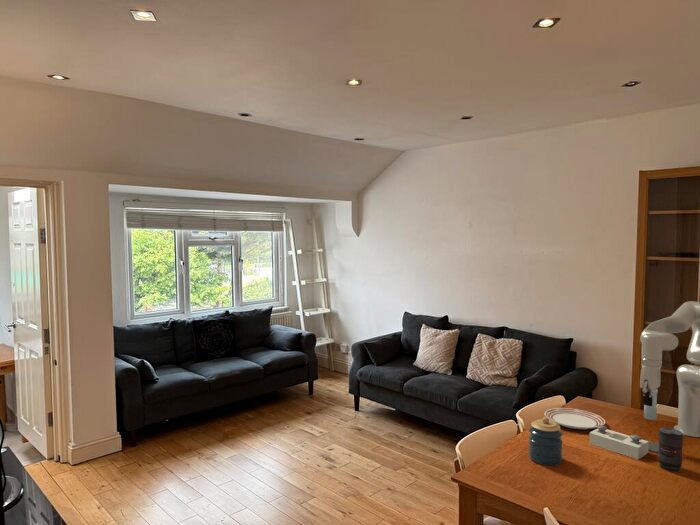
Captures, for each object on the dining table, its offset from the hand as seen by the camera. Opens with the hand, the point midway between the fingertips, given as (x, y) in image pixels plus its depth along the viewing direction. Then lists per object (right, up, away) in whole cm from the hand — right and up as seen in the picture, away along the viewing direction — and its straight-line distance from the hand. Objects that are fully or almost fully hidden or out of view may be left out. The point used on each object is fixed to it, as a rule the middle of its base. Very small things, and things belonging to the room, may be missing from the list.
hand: (650, 403), depth 210 cm
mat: (0, -19, +1) cm, 19 cm away
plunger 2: (-10, -18, -6) cm, 21 cm away
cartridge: (0, -6, 0) cm, 6 cm away
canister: (-50, -20, -9) cm, 55 cm away
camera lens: (-4, -20, -18) cm, 28 cm away
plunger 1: (-18, -18, +5) cm, 26 cm away
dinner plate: (-19, -18, +30) cm, 40 cm away
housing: (-14, -19, 0) cm, 24 cm away
